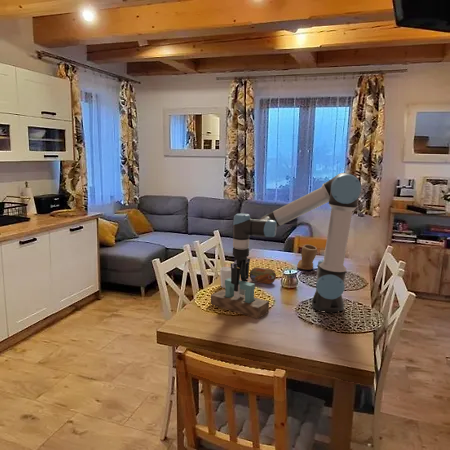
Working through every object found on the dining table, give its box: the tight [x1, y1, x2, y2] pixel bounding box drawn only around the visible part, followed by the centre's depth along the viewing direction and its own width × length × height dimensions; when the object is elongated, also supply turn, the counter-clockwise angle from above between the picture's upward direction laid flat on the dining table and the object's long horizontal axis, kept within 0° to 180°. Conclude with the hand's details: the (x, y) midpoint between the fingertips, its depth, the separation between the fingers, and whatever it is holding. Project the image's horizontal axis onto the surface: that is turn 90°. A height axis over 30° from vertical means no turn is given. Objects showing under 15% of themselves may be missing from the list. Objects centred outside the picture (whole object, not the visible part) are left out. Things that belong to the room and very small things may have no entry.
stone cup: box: [296, 243, 318, 271], centre depth 258 cm, size 15×12×15 cm
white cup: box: [219, 266, 231, 289], centre depth 220 cm, size 8×8×10 cm
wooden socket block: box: [210, 289, 270, 319], centre depth 190 cm, size 26×10×5 cm, turn 55°
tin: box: [249, 266, 277, 285], centre depth 228 cm, size 15×3×8 cm, turn 68°
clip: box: [224, 278, 256, 303], centre depth 190 cm, size 14×4×10 cm, turn 55°
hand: (239, 295), depth 190 cm, fingers closed on clip, 4 cm apart
